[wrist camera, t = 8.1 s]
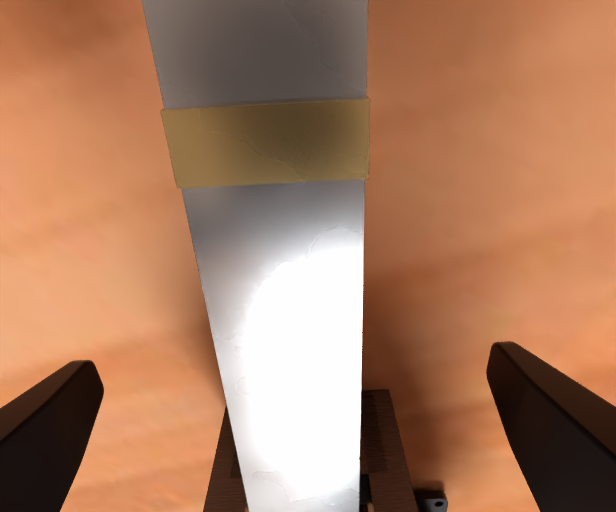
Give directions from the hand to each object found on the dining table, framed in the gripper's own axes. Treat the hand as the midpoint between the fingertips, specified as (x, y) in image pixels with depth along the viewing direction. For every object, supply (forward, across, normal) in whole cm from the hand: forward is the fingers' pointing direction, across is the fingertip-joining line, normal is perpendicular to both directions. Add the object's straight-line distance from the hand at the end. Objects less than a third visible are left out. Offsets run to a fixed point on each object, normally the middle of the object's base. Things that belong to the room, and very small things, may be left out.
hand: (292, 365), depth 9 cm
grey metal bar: (+2, 0, 0) cm, 2 cm away
